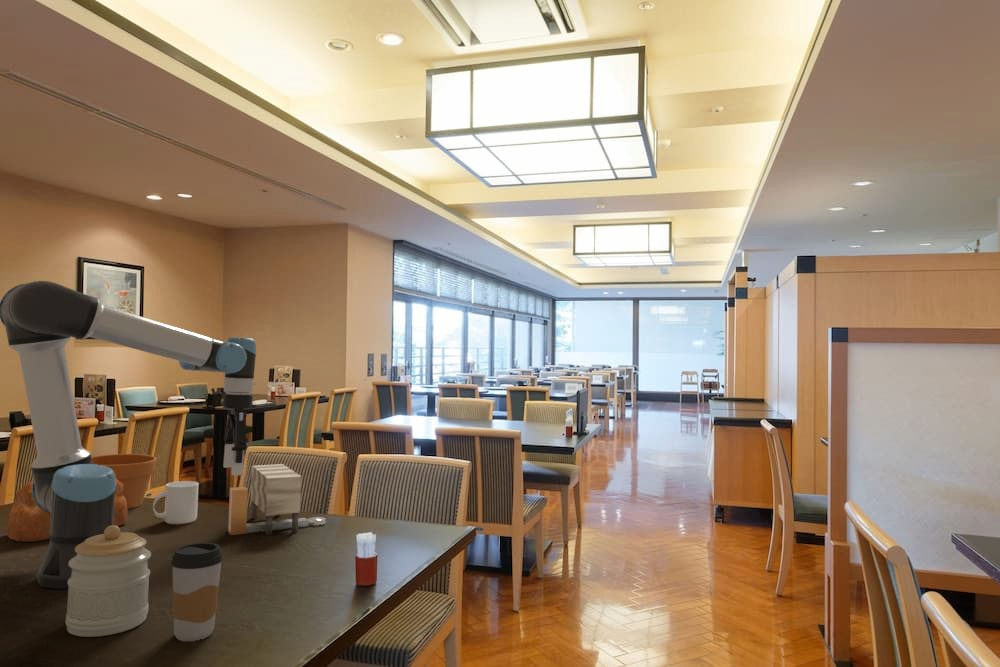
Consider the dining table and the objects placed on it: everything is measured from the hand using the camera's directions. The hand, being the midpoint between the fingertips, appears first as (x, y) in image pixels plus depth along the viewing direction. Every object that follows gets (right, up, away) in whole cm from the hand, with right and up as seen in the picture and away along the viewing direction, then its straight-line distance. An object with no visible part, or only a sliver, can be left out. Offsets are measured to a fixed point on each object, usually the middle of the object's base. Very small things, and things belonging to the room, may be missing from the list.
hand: (232, 471), depth 180 cm
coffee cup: (+19, -16, -64) cm, 69 cm away
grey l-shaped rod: (+8, -17, +5) cm, 20 cm away
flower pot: (-47, -17, +26) cm, 57 cm away
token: (+20, -18, +12) cm, 29 cm away
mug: (-21, -17, +10) cm, 28 cm away
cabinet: (+8, -18, +9) cm, 21 cm away
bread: (-44, -16, -2) cm, 47 cm away
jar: (+2, -15, -61) cm, 63 cm away
